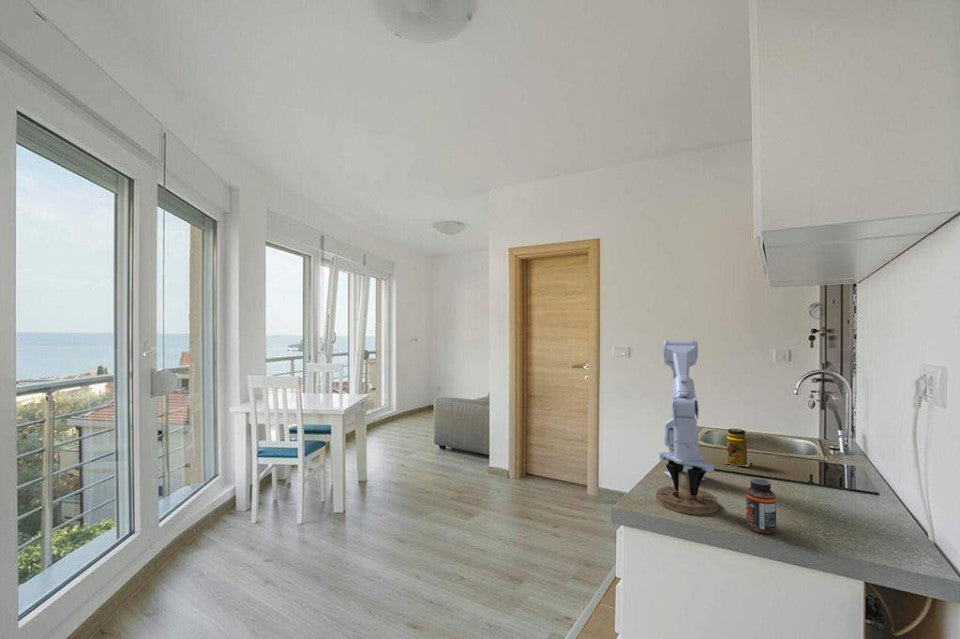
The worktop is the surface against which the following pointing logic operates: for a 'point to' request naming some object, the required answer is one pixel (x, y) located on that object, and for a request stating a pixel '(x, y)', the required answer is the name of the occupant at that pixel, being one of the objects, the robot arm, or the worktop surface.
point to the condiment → (736, 447)
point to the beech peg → (685, 487)
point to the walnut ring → (687, 501)
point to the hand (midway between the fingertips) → (686, 492)
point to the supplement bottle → (761, 507)
